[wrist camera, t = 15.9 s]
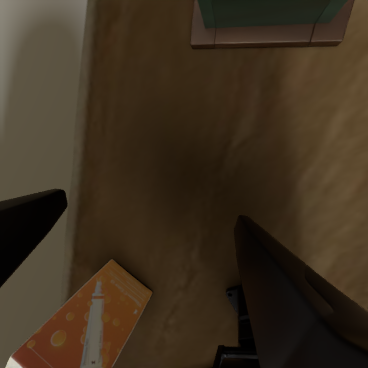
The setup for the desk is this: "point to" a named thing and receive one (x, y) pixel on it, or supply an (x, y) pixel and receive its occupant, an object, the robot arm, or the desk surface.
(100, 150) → the desk surface
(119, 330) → the small box
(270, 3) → the green square planter
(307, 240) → the desk surface
